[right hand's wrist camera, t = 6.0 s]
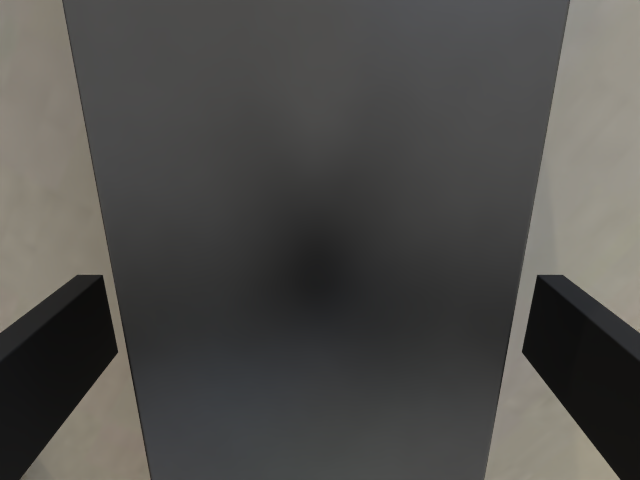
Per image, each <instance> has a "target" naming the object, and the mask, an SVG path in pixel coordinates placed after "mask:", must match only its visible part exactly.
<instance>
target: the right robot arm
mask: <svg viewBox="0 0 640 480" xmlns="http://www.w3.org/2000/svg"><path fill="white" fill-rule="evenodd" d="M117 353H118V349H117V344H116V339H115V334H114V329H113V324H112V319H111V314H110V309H109V304H108V299H107V294H106V289H105V284H104V279H103V275H77V276H75V277H74V278H73V279H71V280H70V281H69V282H67V283H66V284H65V285H63V286H62V287H61V288H59V289H58V290H57V291H55V292H54V293H53V294H51V295H50V296H49V297H47V298H46V299H45V300H44V301H42V302H41V303H40V304H38V305H37V306H36V307H34V308H33V309H32V310H30V311H29V312H28V313H26V314H25V315H24V316H22V317H21V318H20V319H18V320H17V321H16V322H14V323H13V324H12V325H10V326H9V327H8V328H7V329H5V330H4V331H3V332H1V333H0V480H20V478H21V477H22V476H23V474H24V473H25V472H26V471H27V469H28V468H29V467H30V465H31V464H32V463H33V461H34V460H35V459H36V458H37V456H38V455H39V454H40V452H41V451H42V450H43V449H44V447H45V446H46V445H47V443H48V442H49V441H50V440H51V438H52V437H53V436H54V434H55V433H56V432H57V430H58V429H59V428H60V427H61V425H62V424H63V423H64V421H65V420H66V419H67V418H68V416H69V415H70V414H71V412H72V411H73V410H74V409H75V407H76V406H77V405H78V403H79V402H80V401H81V399H82V398H83V397H84V396H85V394H86V393H87V392H88V390H89V389H90V388H91V387H92V385H93V384H94V383H95V381H96V380H97V379H98V378H99V376H100V375H101V374H102V372H103V371H104V370H105V368H106V367H107V366H108V365H109V363H110V362H111V361H112V359H113V358H114V357H115V356H116V354H117ZM522 353H523V354H524V356H525V357H526V358H527V359H528V361H529V362H530V363H531V365H532V366H533V367H534V368H535V370H536V371H537V372H538V374H539V375H540V376H541V378H542V379H543V380H544V381H545V383H546V384H547V385H548V387H549V388H550V389H551V390H552V392H553V393H554V394H555V396H556V397H557V398H558V399H559V401H560V402H561V403H562V405H563V406H564V407H565V409H566V410H567V411H568V412H569V414H570V415H571V416H572V418H573V419H574V420H575V421H576V423H577V424H578V425H579V427H580V428H581V429H582V430H583V432H584V433H585V434H586V436H587V437H588V438H589V440H590V441H591V442H592V443H593V445H594V446H595V447H596V449H597V450H598V451H599V452H600V454H601V455H602V456H603V458H604V459H605V460H606V461H607V463H608V464H609V465H610V467H611V468H612V469H613V471H614V472H615V473H616V474H617V476H618V477H619V478H620V480H640V333H639V332H637V331H636V330H635V329H633V328H632V327H631V326H630V325H628V324H627V323H626V322H624V321H623V320H622V319H620V318H619V317H618V316H616V315H615V314H614V313H612V312H611V311H610V310H608V309H607V308H606V307H604V306H603V305H602V304H600V303H599V302H598V301H596V300H595V299H594V298H593V297H591V296H590V295H589V294H587V293H586V292H585V291H583V290H582V289H581V288H579V287H578V286H577V285H575V284H574V283H573V282H571V281H570V280H569V279H567V278H566V277H565V276H563V275H537V279H536V284H535V289H534V294H533V299H532V304H531V309H530V314H529V319H528V324H527V329H526V334H525V339H524V344H523V349H522Z"/></svg>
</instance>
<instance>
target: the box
mask: <svg viewBox="0 0 640 480" xmlns="http://www.w3.org/2000/svg"><path fill="white" fill-rule="evenodd" d="M62 2H63V7H64V13H65V18H66V24H67V29H68V34H69V40H70V45H71V51H72V56H73V61H74V67H75V72H76V78H77V83H78V88H79V94H80V99H81V105H82V110H83V115H84V121H85V126H86V132H87V137H88V142H89V148H90V153H91V159H92V164H93V170H94V175H95V180H96V186H97V191H98V197H99V202H100V207H101V213H102V218H103V224H104V229H105V234H106V240H107V245H108V251H109V256H110V261H111V267H112V272H113V278H114V283H115V288H116V294H117V299H118V305H119V310H120V316H121V321H122V326H123V332H124V337H125V343H126V348H127V353H128V359H129V364H130V370H131V375H132V380H133V386H134V391H135V397H136V402H137V407H138V413H139V418H140V424H141V429H142V434H143V440H144V445H145V451H146V456H147V462H148V467H149V472H150V478H151V480H484V477H485V472H486V466H487V461H488V455H489V449H490V444H491V438H492V433H493V427H494V422H495V416H496V410H497V405H498V399H499V394H500V388H501V383H502V377H503V371H504V366H505V360H506V355H507V349H508V344H509V338H510V332H511V327H512V321H513V316H514V310H515V304H516V299H517V293H518V288H519V282H520V277H521V271H522V265H523V260H524V254H525V249H526V243H527V238H528V232H529V226H530V221H531V215H532V210H533V204H534V199H535V193H536V187H537V182H538V176H539V171H540V165H541V160H542V154H543V148H544V143H545V137H546V132H547V126H548V120H549V115H550V109H551V104H552V98H553V93H554V87H555V81H556V76H557V70H558V65H559V59H560V54H561V48H562V42H563V37H564V31H565V26H566V20H567V15H568V9H569V3H570V0H62Z"/></svg>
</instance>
